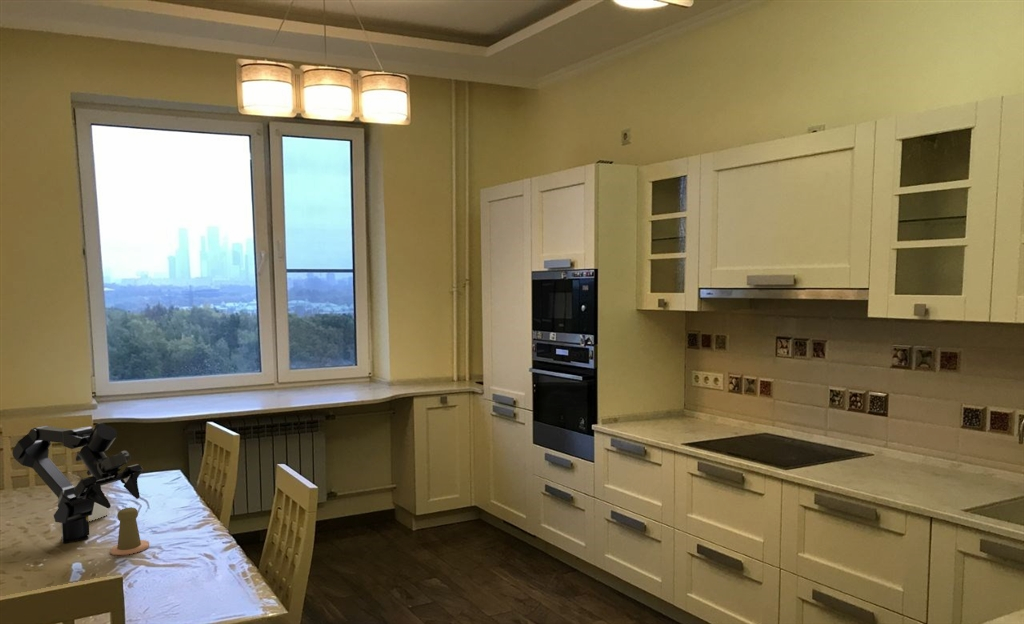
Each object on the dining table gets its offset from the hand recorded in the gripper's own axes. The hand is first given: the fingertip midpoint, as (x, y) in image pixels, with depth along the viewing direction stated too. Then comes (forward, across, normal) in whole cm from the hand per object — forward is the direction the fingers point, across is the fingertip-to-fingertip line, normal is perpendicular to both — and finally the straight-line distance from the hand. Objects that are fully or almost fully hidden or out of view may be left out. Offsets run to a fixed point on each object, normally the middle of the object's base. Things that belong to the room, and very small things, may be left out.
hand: (124, 502), depth 202 cm
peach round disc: (+10, 0, +8) cm, 14 cm away
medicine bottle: (-16, +15, +36) cm, 42 cm away
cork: (+10, 0, +8) cm, 13 cm away
